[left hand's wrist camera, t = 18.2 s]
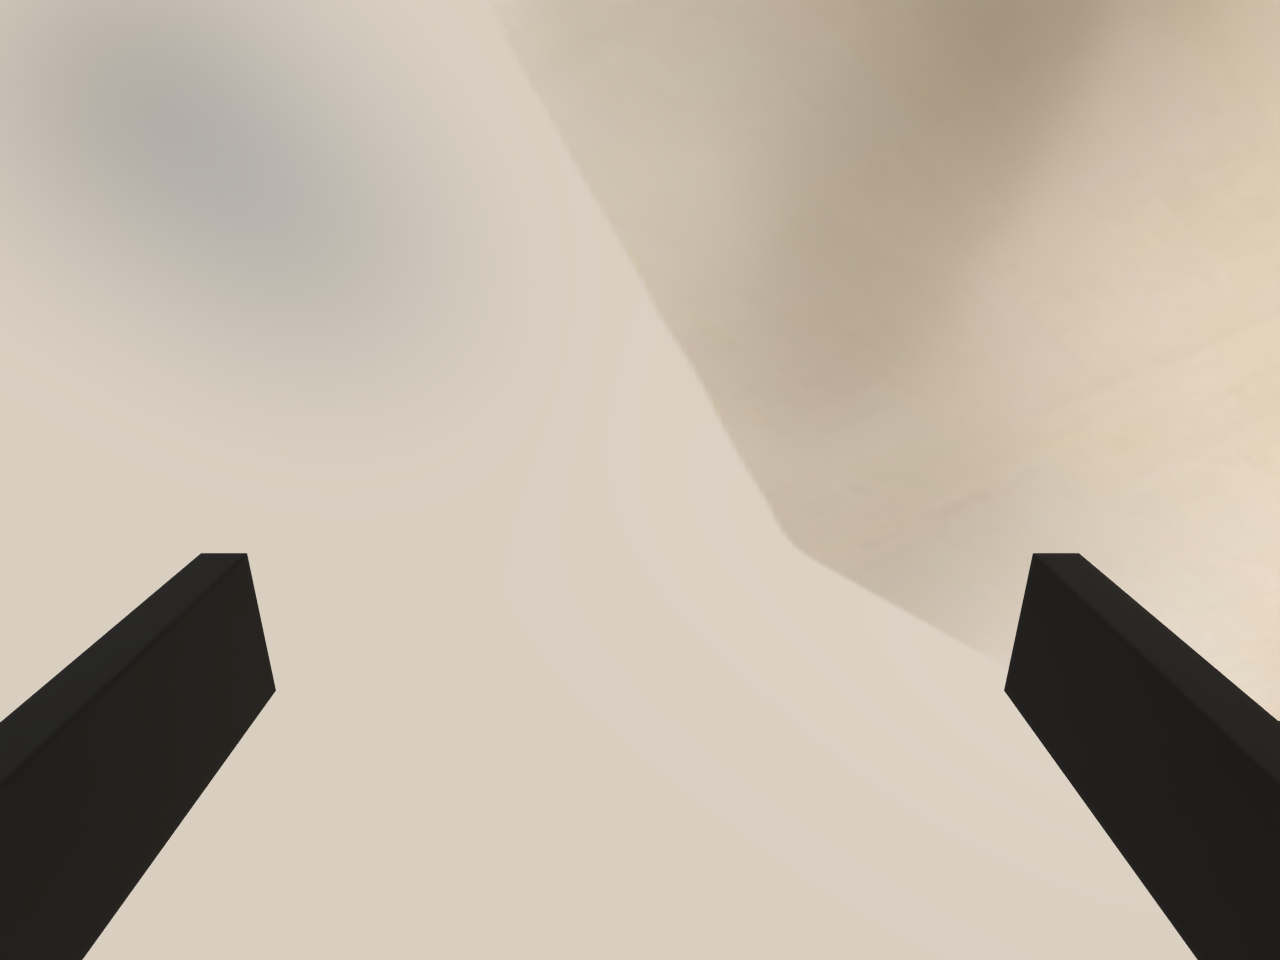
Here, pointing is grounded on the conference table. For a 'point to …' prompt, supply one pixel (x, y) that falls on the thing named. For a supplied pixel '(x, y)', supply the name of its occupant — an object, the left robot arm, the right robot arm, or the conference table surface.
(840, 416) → the conference table surface
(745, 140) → the conference table surface
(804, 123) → the conference table surface
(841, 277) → the conference table surface
